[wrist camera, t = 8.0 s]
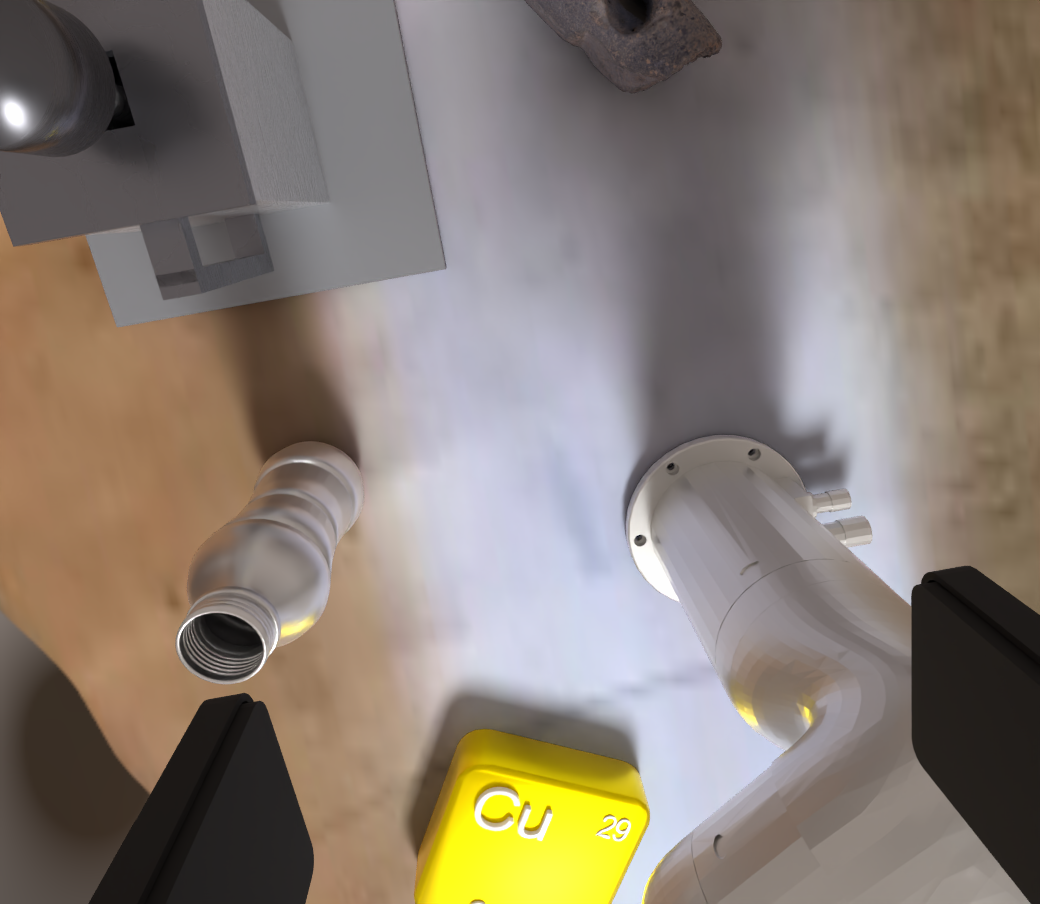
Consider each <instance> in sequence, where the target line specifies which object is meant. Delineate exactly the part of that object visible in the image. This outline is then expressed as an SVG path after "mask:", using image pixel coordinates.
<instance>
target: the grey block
mask: <svg viewBox="0 0 1040 904" xmlns="http://www.w3.org/2000/svg"><path fill="white" fill-rule="evenodd" d="M46 1H48V2H50V3H52V4H54V5H56V6H58V7H61V8H63V9H65V10H66V11H68V12H69V13H71V14H73V15H74V16H75V17H76V18H78V19H79V20H80V21H82V22H83V23H84V24H85V25H86V26H87V27H88V28H89V29H90V30H91V32H92V33H93V34H94V35H95V37H96V38H97V39H98V41H99V42H100V44H101V45H102V47H103V49H104V51H105V53H106V55H107V57H108V59H109V62H110V64H111V67H112V70H113V75H114V79H115V84H116V85H119V86H122V87H124V90H125V93H126V96H127V100H128V103H129V106H130V109H131V113H132V116H133V119H134V123H135V124H132V123H128V122H124V121H120V120H116V119H111V121H110V123H109V126H108V127H107V129H106V131H105V132H104V134H103V135H102V136H101V137H100V139H99V140H98V141H97V142H95V143H94V144H93V145H92V146H90V147H89V148H87V149H86V150H84V151H82V152H79V153H77V154H74V155H70V156H64V157H46V156H38V155H29V154H21V153H13V152H4V151H0V212H1V215H2V217H3V220H4V223H5V225H6V228H7V231H8V233H9V236H10V239H11V241H12V244H13V247H14V246H26V245H32V244H37V243H43V242H49V241H54V240H60V239H65V238H71V237H77V236H82V235H95V234H110V233H124V232H138V231H141V232H142V235H143V239H144V242H145V245H146V248H147V251H148V254H149V257H150V260H151V264H152V267H153V270H154V273H155V276H156V279H157V282H158V286H159V289H160V292H161V295H162V298H163V300H169V299H175V298H180V297H186V296H191V295H197V294H202V293H206V292H209V291H212V290H215V289H218V288H222V287H225V286H228V285H231V284H234V283H238V282H241V281H244V280H247V279H250V278H254V277H257V276H260V275H263V274H267V273H270V272H273V271H274V267H273V263H272V259H271V256H270V252H269V248H268V244H267V241H266V237H265V233H264V229H263V226H262V222H261V218H260V215H264V214H269V213H275V212H281V211H286V210H292V209H298V208H303V207H309V206H314V205H320V204H326V203H330V198H329V194H328V190H327V186H326V182H325V177H324V173H323V169H322V165H321V160H320V156H319V152H318V148H317V144H316V139H315V135H314V131H313V127H312V123H311V118H310V114H309V110H308V106H307V101H306V97H305V93H304V89H303V85H302V80H301V76H300V72H299V68H298V63H297V59H296V55H295V51H294V47H293V42H292V41H291V40H290V39H289V38H288V37H287V36H285V35H284V34H283V33H282V32H281V31H280V30H279V29H278V28H277V27H275V26H274V25H273V24H272V23H271V22H270V21H269V20H268V19H266V18H265V17H264V16H263V15H262V14H261V13H260V12H259V11H258V10H256V9H255V8H254V7H253V6H252V5H251V4H250V3H249V2H247V1H246V0H46ZM224 221H225V223H226V227H227V230H228V234H229V237H230V241H231V245H232V248H233V252H234V255H235V259H233V260H228V261H223V262H219V263H214V264H209V265H204V266H202V262H201V259H200V256H199V252H198V249H197V245H196V242H195V239H194V235H193V232H192V229H191V227H196V226H202V225H208V224H213V223H219V222H224Z"/></svg>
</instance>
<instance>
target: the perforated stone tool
mask: <svg viewBox="0 0 1040 904" xmlns="http://www.w3.org/2000/svg"><path fill="white" fill-rule="evenodd" d="M525 1H526V3H527V4H528V5H529V6H530V7H531V8H532V9H533V10H534V11H535V12H536V13H537V14H538V15H539V16H540V17H541V18H542V19H543V20H544V21H545V22H546V23H547V24H548V25H549V26H550V27H551V28H552V29H553V30H554V31H555V32H556V33H557V34H558V35H559V36H560V37H561V38H562V39H564V40H566V41H567V42H569V43H570V44H572V45H573V46H579V47H580V48H581V49H583V50H584V51H585V52H586V54H587V55H588V57H589V59H590V60H591V62H592V63H593V64H594V65H595V67H596V68H597V69H598V70H599V71H600V72H601V73H602V74H603V75H604V76H605V77H607V78H608V79H609V80H610V81H611V82H612V83H613V84H615V85H616V86H617V87H618V88H619V89H621V90H622V91H624V92H629V93H637V92H639V91H642V90H643V91H644V90H645V89H648V88H650V87H651V86H653V85H654V84H656V83H658V82H660V81H664V80H666V79H668V78H669V77H670V76H671V75H673V74H675V73H677V72H678V71H680V70H681V69H682V68H683V66H684V65H686V64H689V63H690V62H694V61H695V60H696V59H697V58H699V57H703V58H706V57H711V55H714V54H717V53H719V51H720V49H721V47H722V40H721V37H720V36H719V34H718V33H717V32H716V30H715V29H714V28H713V26H712V25H711V24H710V22H709V21H708V20H707V19H706V18H705V16H704V15H703V14H702V13H701V12H700V10H699V9H698V8H697V7H696V6H695V4H694V3H693V2H692V1H691V0H525Z"/></svg>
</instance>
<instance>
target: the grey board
mask: <svg viewBox="0 0 1040 904" xmlns="http://www.w3.org/2000/svg"><path fill="white" fill-rule="evenodd" d="M246 1H247V2H249V3H250V4H251V5H252V6H253V7H254V8H255V9H256V10H258V11H259V12H260V13H261V14H262V15H263V16H264V17H265V18H266V19H268V20H269V21H270V22H271V23H272V24H273V25H274V26H275V27H277V28H278V29H279V30H280V31H281V32H282V33H283V34H284V35H285V36H287V37H288V38H289V39H290V40H291V41H292V42H293V47H294V51H295V55H296V59H297V63H298V68H299V72H300V76H301V80H302V85H303V89H304V93H305V97H306V101H307V106H308V110H309V114H310V118H311V123H312V127H313V131H314V135H315V139H316V144H317V148H318V152H319V156H320V160H321V165H322V169H323V173H324V177H325V182H326V186H327V190H328V194H329V198H330V203H326V204H320V205H314V206H309V207H303V208H298V209H292V210H286V211H281V212H275V213H269V214H264V215H260V218H261V222H262V226H263V229H264V233H265V237H266V241H267V244H268V248H269V252H270V256H271V259H272V263H273V267H274V271H273V272H270V273H267V274H263V275H260V276H257V277H254V278H250V279H247V280H244V281H241V282H238V283H234V284H231V285H228V286H225V287H222V288H218V289H215V290H212V291H209V292H206V293H202V294H197V295H191V296H186V297H180V298H175V299H169V300H163V298H162V295H161V292H160V289H159V286H158V282H157V279H156V276H155V273H154V270H153V267H152V264H151V260H150V257H149V254H148V251H147V248H146V245H145V242H144V239H143V235H142V232H141V231H138V232H124V233H110V234H95V235H86V238H87V241H88V244H89V247H90V250H91V253H92V256H93V259H94V261H95V264H96V267H97V270H98V273H99V276H100V279H101V282H102V285H103V288H104V291H105V294H106V297H107V299H108V302H109V305H110V308H111V311H112V314H113V317H114V320H115V323H116V326H117V327H122V326H128V325H133V324H139V323H145V322H150V321H156V320H162V319H167V318H173V317H179V316H184V315H190V314H195V313H201V312H207V311H212V310H218V309H224V308H229V307H235V306H240V305H246V304H252V303H257V302H263V301H269V300H274V299H280V298H285V297H291V296H297V295H302V294H308V293H314V292H319V291H325V290H330V289H336V288H342V287H347V286H353V285H359V284H364V283H370V282H376V281H381V280H387V279H392V278H398V277H404V276H409V275H415V274H421V273H426V272H432V271H437V270H443V269H446V263H445V258H444V253H443V247H442V242H441V237H440V232H439V227H438V222H437V217H436V212H435V206H434V201H433V196H432V191H431V186H430V181H429V176H428V171H427V165H426V160H425V155H424V150H423V145H422V140H421V135H420V129H419V124H418V119H417V114H416V109H415V104H414V99H413V94H412V88H411V83H410V78H409V73H408V68H407V63H406V58H405V53H404V47H403V42H402V37H401V32H400V27H399V22H398V17H397V12H396V6H395V1H394V0H246ZM191 229H192V232H193V235H194V239H195V242H196V245H197V249H198V252H199V256H200V259H201V262H202V266H204V265H209V264H214V263H219V262H223V261H228V260H233V259H235V255H234V252H233V248H232V245H231V241H230V237H229V234H228V230H227V227H226V223H225V221H224V222H219V223H213V224H208V225H202V226H196V227H191Z"/></svg>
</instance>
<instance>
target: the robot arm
mask: <svg viewBox="0 0 1040 904" xmlns="http://www.w3.org/2000/svg"><path fill="white" fill-rule="evenodd" d="M751 449H753V452H752V453H750V454H748V452H749V451H750V450H751ZM670 463H673V466H672V467H670V468H667V466H668V465H669V464H670ZM850 507H851V497H850V494H849V492H848V491H847V489H838V490H832V491H827V492H825V493H821V494H815V495H812V493H811V492H806V489H805V487H804V485H803V483H802V480H801V478H800V476H799V475H798V473H797V472H796V471H795V469H794V468H793V467H792V465H791V464H790V463H789V462H788V461H787V460H786V459H785V458H783V457H782V456H781V455H780V454H779V453H777V452H776V451H774V450H773V449H772V448H770V447H769V446H767V445H765V444H763V443H761V442H758V441H756V440H753V439H751V438H746V437H741V436H736V435H713V436H708V437H702V438H698V439H695V440H692V441H690V442H687V443H684V444H682V445H680V446H678V447H676V448H675V449H673V450H671V451H669V452H668V453H666V454H665V455H664V456H663V457H661V458H660V459H659V460H658V461H657V462H655V463H654V464H653V465H652V466H651V467H650V469H649V470H648V471H647V472H646V473H645V475H644V476H643V477H642V478H641V480H640V482H639V483H638V485H637V487H636V489H635V490H634V492H633V494H632V497H631V500H630V503H629V506H628V509H627V517H626V538H627V543H628V547H629V550H630V553H631V556H632V558H633V560H634V562H635V565H636V567H637V569H638V570H639V572H640V573H641V574H642V576H643V577H644V579H645V580H646V581H647V582H648V583H649V584H650V585H651V586H652V587H653V588H654V589H656V590H657V591H658V592H660V593H661V594H663V595H665V596H666V597H668V598H670V599H672V600H674V601H677V602H679V603H681V605H682V607H683V609H684V611H685V613H686V615H687V617H688V619H689V621H690V623H691V625H692V627H693V629H694V631H695V632H696V634H697V636H698V638H699V640H700V642H701V644H702V646H703V648H704V650H705V652H706V654H707V656H708V658H709V660H710V662H711V664H712V666H713V668H714V670H715V671H716V673H717V675H718V677H719V679H720V681H721V683H722V685H723V687H724V689H725V691H726V693H727V695H728V697H729V699H730V701H731V702H732V704H733V705H734V707H735V708H736V710H737V711H738V713H739V714H740V716H741V717H742V718H743V719H744V720H745V721H746V722H747V723H748V724H749V725H750V726H751V727H752V728H753V729H754V730H755V731H756V732H757V733H759V734H760V735H761V736H762V737H764V738H765V739H767V740H768V741H769V742H771V743H773V744H774V745H776V746H777V747H779V748H781V749H783V750H785V752H784V753H783V754H781V755H780V756H779V757H778V758H777V759H775V760H774V761H773V762H772V765H771V766H770V767H769V768H768V769H767V770H765V771H764V772H763V773H762V774H760V775H759V776H758V777H757V778H756V779H754V780H753V781H752V782H751V783H750V784H748V785H747V786H746V787H745V788H743V789H742V790H741V791H740V792H739V793H737V794H736V795H735V796H734V797H733V798H731V799H730V800H729V801H728V802H726V803H725V804H724V805H723V806H722V807H720V808H719V809H718V810H717V811H716V812H714V813H713V814H712V815H711V816H709V817H708V818H707V819H706V820H705V821H703V822H702V823H701V824H700V825H699V826H698V827H696V828H695V829H694V830H693V831H692V832H690V833H689V834H688V835H687V836H686V837H684V838H683V839H682V840H681V841H680V842H679V843H678V844H677V845H676V846H675V847H674V848H673V849H672V850H671V851H669V852H668V853H667V854H666V855H665V856H664V857H663V859H662V860H661V861H660V862H659V863H658V865H657V866H656V868H655V869H654V871H653V872H652V874H651V876H650V878H649V880H648V882H647V885H646V887H645V891H644V895H643V900H642V904H1040V615H1039V614H1037V613H1036V612H1035V611H1033V610H1032V609H1031V608H1029V607H1028V606H1026V605H1025V604H1024V603H1022V602H1021V601H1020V600H1018V599H1017V598H1015V597H1014V596H1013V595H1011V594H1010V593H1008V592H1007V591H1006V590H1004V589H1003V588H1002V587H1000V586H999V585H997V584H996V583H995V582H993V581H992V580H991V579H989V578H988V577H986V576H985V575H984V574H982V573H981V572H979V571H978V570H977V569H975V568H973V567H971V566H961V567H956V568H950V569H944V570H939V571H933V572H928V573H926V574H925V575H924V576H923V578H922V581H921V584H919V585H916V586H914V588H913V590H912V596H911V606H910V605H909V604H908V603H907V602H905V601H904V600H903V599H902V598H901V597H900V596H899V595H898V594H897V593H895V592H894V591H893V590H892V589H891V588H890V587H889V586H888V585H887V584H886V583H885V582H883V581H882V580H881V579H880V578H879V577H878V576H877V575H876V574H875V573H874V572H873V571H872V570H871V569H869V568H868V567H867V566H866V565H865V564H864V563H863V562H862V561H861V560H860V559H859V558H858V557H856V556H855V555H854V554H853V553H852V552H851V551H850V550H849V549H848V547H853V546H859V545H865V544H870V543H871V541H872V530H871V526H870V524H869V522H868V520H867V519H866V518H865V517H864V516H857V517H851V518H846V519H840V520H836V521H835V522H831V523H825V524H821V523H820V522H818V521H817V520H816V519H815V517H816V516H817V513H823V512H834V511H840V510H846V509H850ZM638 535H641V536H640V537H639V538H635V537H636V536H638ZM313 867H314V854H313V847H312V843H311V840H310V837H309V834H308V831H307V828H306V825H305V822H304V819H303V816H302V813H301V810H300V807H299V804H298V801H297V798H296V795H295V792H294V789H293V786H292V783H291V780H290V777H289V774H288V771H287V768H286V765H285V762H284V759H283V756H282V752H281V749H280V746H279V743H278V740H277V737H276V734H275V731H274V728H273V725H272V722H271V719H270V716H269V713H268V710H267V708H266V706H265V704H264V703H263V702H262V701H256V702H253V699H252V698H251V697H250V695H249V694H246V693H242V694H236V695H231V696H225V697H219V698H214V699H208V700H206V701H204V702H203V703H202V704H201V705H200V707H199V709H198V711H197V712H196V714H195V716H194V718H193V720H192V721H191V723H190V725H189V727H188V729H187V730H186V732H185V734H184V736H183V737H182V739H181V741H180V743H179V745H178V746H177V748H176V750H175V752H174V753H173V755H172V757H171V759H170V761H169V762H168V764H167V766H166V768H165V770H164V771H163V773H162V775H161V777H160V778H159V780H158V782H157V784H156V786H155V787H154V789H153V791H152V793H151V794H150V796H149V798H148V800H147V802H146V803H145V805H144V807H143V809H142V811H141V813H140V814H139V816H138V818H137V820H136V821H135V822H134V824H133V825H132V827H131V829H130V831H129V833H128V834H127V836H126V838H125V840H124V841H123V843H122V845H121V847H120V849H119V850H118V852H117V854H116V856H115V858H114V859H113V861H112V863H111V865H110V866H109V868H108V870H107V872H106V874H105V875H104V877H103V879H102V881H101V882H100V884H99V886H98V888H97V890H96V891H95V893H94V895H93V897H92V898H91V900H90V902H89V904H305V903H306V899H307V895H308V891H309V887H310V883H311V879H312V874H313Z"/></svg>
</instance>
